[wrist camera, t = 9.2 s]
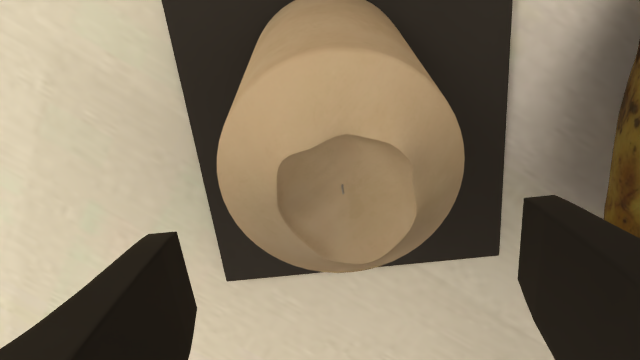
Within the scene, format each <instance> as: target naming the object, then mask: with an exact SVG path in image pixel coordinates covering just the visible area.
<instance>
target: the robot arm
mask: <svg viewBox="0 0 640 360" xmlns="http://www.w3.org/2000/svg"><path fill="white" fill-rule="evenodd" d="M518 281H519V284H520V286H521V289H522V292H523V294H524V297H525V300H526V302H527V305H528V307H529V310H530V312H531V315H532V317H533V320H534V322H535V324H536V326H537V327H538V329H539V331H540V333H541V335H542V337H543V338H544V340H545V342H546V344H547V346H548V347H549V349H550V351H551V353H552V355H553V356H554V358H555V360H640V238H638V237H636V236H634V235H632V234H630V233H629V232H627V231H625V230H623V229H621V228H619V227H617V226H615V225H613V224H611V223H609V222H607V221H606V220H604V219H602V218H600V217H598V216H596V215H594V214H592V213H590V212H588V211H587V210H585V209H583V208H581V207H579V206H577V205H575V204H573V203H571V202H569V201H567V200H565V199H562V198H560V197H558V196H555V195H550V196H540V197H530V198H524V204H523V217H522V230H521V244H520V257H519V270H518ZM196 312H197V306H196V303H195V299H194V295H193V291H192V288H191V284H190V280H189V276H188V273H187V269H186V265H185V261H184V258H183V254H182V250H181V246H180V243H179V239H178V235H177V232H167V233H156V234H148V235H146V236H145V237H144V238H142V239H141V240H139V241H138V242H137V243H136V244H134V245H133V246H132V247H131V248H130V249H128V250H127V251H126V252H125V253H124V254H123V255H121V256H120V257H119V258H118V259H117V260H115V261H114V262H113V263H112V264H111V265H110V266H108V267H107V268H106V269H105V270H104V271H103V272H101V273H100V274H99V275H98V276H97V277H95V278H94V279H93V280H92V281H91V282H90V283H88V284H87V285H86V286H85V287H84V288H82V289H81V290H80V291H79V292H77V293H76V294H75V295H74V296H72V297H71V298H70V299H68V300H67V301H66V302H65V303H63V304H62V305H61V306H59V307H58V308H57V309H56V310H54V311H53V312H52V313H50V314H49V315H48V316H47V317H45V318H44V319H43V320H41V321H40V322H39V323H37V324H36V325H35V326H33V327H32V328H30V329H29V330H28V331H26V332H25V333H23V334H22V335H21V336H19V337H18V338H16V339H15V340H13V341H12V342H10V343H9V344H7V345H6V346H4V347H3V348H1V349H0V360H188V358H189V354H190V350H191V344H192V339H193V333H194V326H195V319H196Z"/></svg>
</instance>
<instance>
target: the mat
mask: <svg viewBox="0 0 640 360" xmlns="http://www.w3.org/2000/svg"><path fill="white" fill-rule="evenodd" d="M293 1H295V0H162V4H163V8H164V12H165V17H166V21H167V25H168V29H169V34H170V38H171V42H172V47H173V51H174V55H175V60H176V64H177V68H178V73H179V77H180V81H181V86H182V90H183V94H184V99H185V103H186V107H187V112H188V116H189V120H190V125H191V129H192V133H193V138H194V142H195V146H196V150H197V155H198V159H199V163H200V168H201V172H202V176H203V181H204V185H205V189H206V194H207V198H208V202H209V207H210V211H211V215H212V220H213V224H214V228H215V233H216V237H217V241H218V246H219V250H220V254H221V259H222V263H223V267H224V271H225V276H226V280H227V281H236V280H247V279H257V278H267V277H278V276H288V275H299V274H309V273H320V271H314V270H308V269H304V268H301V267H297V266H294V265H291V264H289V263H286V262H284V261H282V260H280V259H278V258H276V257H274V256H272V255H270V254H269V253H267V252H266V251H264V250H263V249H261V248H260V247H259V246H257V245H256V244H255V243H254V242H253V241H252V240H251V239H249V238H248V237H247V236H246V235H245V234H244V232H243V231H242V230H241V229H240V228H239V226H238V225H237V224H236V222H235V221H234V219H233V218H232V216H231V215H230V213H229V211H228V209H227V207H226V204H225V202H224V200H223V197H222V194H221V191H220V187H219V182H218V176H217V152H218V145H219V140H220V136H221V133H222V130H223V126H224V124H225V121H226V119H227V116H228V114H229V111H230V109H231V106H232V104H233V101H234V99H235V96H236V93H237V91H238V88H239V86H240V83H241V81H242V78H243V76H244V73H245V71H246V68H247V66H248V63H249V61H250V58H251V56H252V53H253V51H254V48H255V46H256V44H257V41H258V39H259V37H260V35H261V33H262V31H263V30H264V28H265V27H266V25H267V23H268V22H269V21H270V20H271V19H272V18H273V16H274V15H275V14H276V13H278V12H279V11H280V10H281V9H282V8H283V7H285V6H286V5H288V4H289V3H291V2H293ZM366 1H368V2H370V3H372V4H373V5H374V6H376V7H377V8H379V9H380V10H381V11H382V12H383V13H384V14H385V15H386V16H387V17H388V18H389V19H390V20H391V22H392V23H393V24H394V25H395V27H396V28H397V29H398V31H399V32H400V34H401V35H402V37H403V38H404V39H405V41H406V42H407V44H408V45H409V47H410V48H411V50H412V51H413V52H414V54H415V55H416V57H417V58H418V60H419V61H420V63H421V64H422V65H423V67H424V68H425V70H426V71H427V73H428V74H429V76H430V77H431V78H432V80H433V81H434V83H435V84H436V86H437V87H438V88H439V90H440V91H441V93H442V94H443V96H444V97H445V99H446V100H447V102H448V104H449V105H450V107H451V109H452V111H453V112H454V114H455V116H456V119H457V122H458V124H459V127H460V130H461V134H462V139H463V143H464V157H465V161H464V173H463V178H462V182H461V187H460V190H459V192H458V195H457V198H456V200H455V202H454V204H453V206H452V208H451V210H450V212H449V214H448V215H447V217H446V218H445V219H444V221H443V222H442V224H441V225H440V226H439V227H438V228H437V229H436V231H435V232H434V233H433V234H432V235H431V236H430V237H429V238H428V239H426V240H425V241H424V242H423V243H422V244H421V245H419V246H418V247H417V248H415V249H414V250H412V251H411V252H409V253H408V254H406V255H404V256H402V257H400V258H398V259H396V260H394V261H392V262H389V263H387V264H384V265H382V266H393V265H403V264H414V263H424V262H435V261H445V260H455V259H466V258H476V257H487V256H497V255H499V245H500V226H501V207H502V188H503V169H504V150H505V131H506V112H507V93H508V74H509V55H510V36H511V17H512V0H366ZM382 266H378V267H382Z"/></svg>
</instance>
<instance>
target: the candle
mask: <svg viewBox="0 0 640 360" xmlns="http://www.w3.org/2000/svg"><path fill="white" fill-rule="evenodd" d="M464 161H465V157H464V143H463V139H462V134H461V130H460V127H459V124H458V122H457V119H456V116H455V114H454V112H453V111H452V109H451V107H450V105H449V104H448V102H447V100H446V99H445V97H444V96H443V94H442V93H441V91H440V90H439V88H438V87H437V86H436V84H435V83H434V81H433V80H432V78H431V77H430V76H429V74H428V73H427V71H426V70H425V68H424V67H423V65H422V64H421V63H420V61H419V60H418V58H417V57H416V55H415V54H414V52H413V51H412V50H411V48H410V47H409V45H408V44H407V42H406V41H405V39H404V38H403V37H402V35H401V34H400V32H399V31H398V29H397V28H396V27H395V25H394V24H393V23H392V22H391V20H390V19H389V18H388V17H387V16H386V15H385V14H384V13H383V12H382V11H381V10H380V9H379V8H377V7H376V6H374V5H373V4H372V3H370V2H368V1H366V0H295V1H293V2H291V3H289V4H288V5H286V6H285V7H283V8H282V9H281V10H280V11H279V12H278V13H276V14H275V15H274V16H273V18H272V19H271V20H270V21H269V22H268V23H267V25H266V27H265V28H264V30H263V31H262V33H261V35H260V37H259V39H258V41H257V44H256V46H255V48H254V51H253V53H252V56H251V58H250V61H249V63H248V66H247V68H246V71H245V73H244V76H243V78H242V81H241V83H240V86H239V88H238V91H237V93H236V96H235V99H234V101H233V104H232V106H231V109H230V111H229V114H228V116H227V119H226V121H225V124H224V126H223V130H222V133H221V136H220V140H219V145H218V152H217V176H218V182H219V187H220V191H221V194H222V197H223V200H224V202H225V204H226V207H227V209H228V211H229V213H230V215H231V216H232V218H233V219H234V221H235V222H236V224H237V225H238V226H239V228H240V229H241V230H242V231H243V232H244V234H245V235H246V236H247V237H248V238H249V239H251V240H252V241H253V242H254V243H255V244H256V245H257V246H259V247H260V248H261V249H263V250H264V251H266V252H267V253H269V254H270V255H272V256H274V257H276V258H278V259H280V260H282V261H284V262H286V263H289V264H291V265H294V266H297V267H301V268H304V269H308V270H314V271H320V272H332V273H343V272H355V271H362V270H367V269H371V268H375V267H378V266H382V265H384V264H387V263H389V262H392V261H394V260H396V259H398V258H400V257H402V256H404V255H406V254H408V253H409V252H411V251H412V250H414V249H415V248H417V247H418V246H419V245H421V244H422V243H423V242H424V241H425V240H426V239H428V238H429V237H430V236H431V235H432V234H433V233H434V232H435V231H436V229H437V228H438V227H439V226H440V225H441V224H442V222H443V221H444V219H445V218H446V217H447V215H448V214H449V212H450V210H451V208H452V206H453V204H454V202H455V200H456V198H457V195H458V192H459V190H460V187H461V182H462V178H463V173H464Z"/></svg>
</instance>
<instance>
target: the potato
mask: <svg viewBox="0 0 640 360" xmlns="http://www.w3.org/2000/svg"><path fill="white" fill-rule="evenodd" d="M604 220H606V221H607V222H609V223H611V224H613V225H615V226H617V227H619V228H621V229H623V230H625V231H627V232H629V233H630V234H632V235H634V236H636V237H638V238H640V41H639V46H638V51H637V55H636V58H635V61H634V64H633V67H632V70H631V73H630V76H629V79H628V83H627V86H626V90H625V93H624V96H623V100H622V104H621V108H620V112H619V117H618V122H617V128H616V135H615V141H614V148H613V155H612V163H611V170H610V178H609V185H608V192H607V197H606V203H605V210H604Z"/></svg>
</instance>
